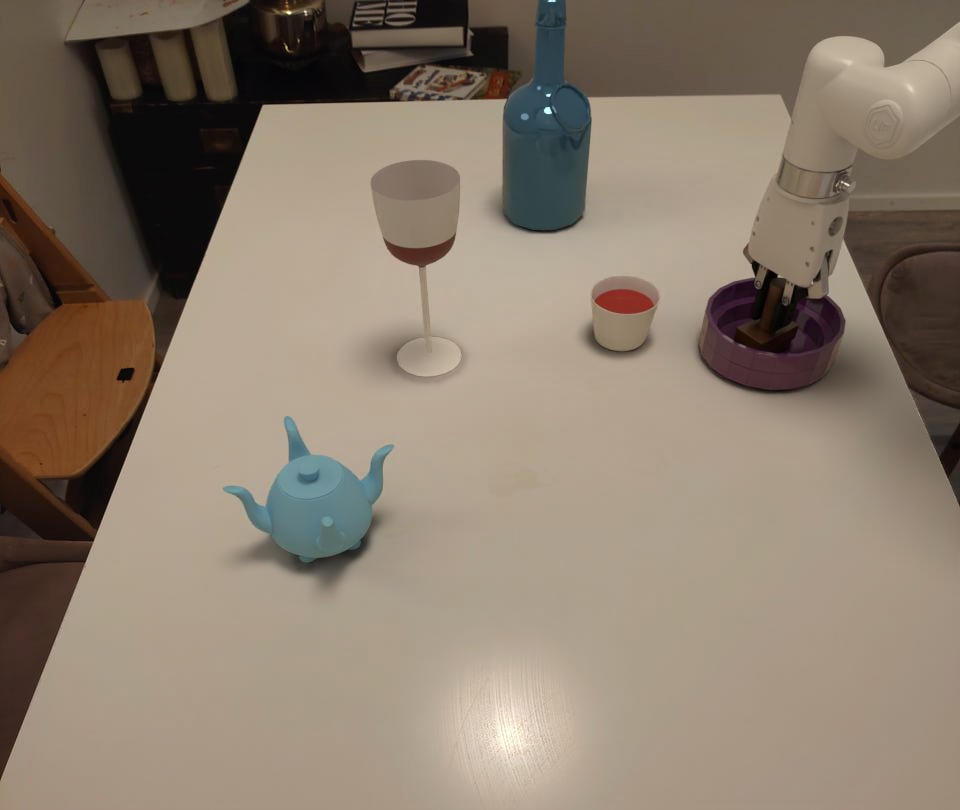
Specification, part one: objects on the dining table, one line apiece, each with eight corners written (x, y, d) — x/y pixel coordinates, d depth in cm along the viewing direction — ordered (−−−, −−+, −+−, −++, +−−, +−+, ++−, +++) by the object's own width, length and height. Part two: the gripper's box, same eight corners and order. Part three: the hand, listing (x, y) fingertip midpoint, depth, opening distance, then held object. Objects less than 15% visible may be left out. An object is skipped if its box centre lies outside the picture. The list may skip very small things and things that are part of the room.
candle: (596, 312, 119) (600, 270, 114) (659, 324, 117) (667, 281, 112) (578, 350, 114) (582, 307, 109) (644, 362, 112) (651, 319, 107)
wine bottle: (484, 212, 135) (480, -17, 111) (543, 183, 141) (552, -42, 116) (544, 245, 129) (555, 10, 105) (604, 213, 134) (627, -17, 110)
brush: (766, 332, 114) (786, 265, 107) (791, 348, 112) (813, 281, 105) (730, 350, 112) (748, 283, 104) (755, 367, 110) (775, 300, 102)
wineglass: (387, 340, 116) (366, 165, 97) (460, 331, 117) (452, 155, 98) (396, 382, 111) (375, 205, 92) (472, 372, 111) (466, 194, 93)
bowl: (761, 299, 120) (772, 263, 115) (859, 360, 111) (874, 322, 107) (671, 344, 114) (678, 307, 110) (766, 411, 106) (778, 374, 101)
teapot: (243, 555, 93) (218, 487, 85) (307, 478, 100) (289, 408, 92) (345, 592, 90) (329, 525, 82) (403, 509, 97) (394, 440, 89)
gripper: (895, 192, 91) (839, 341, 106) (781, 137, 99) (744, 283, 114) (848, 214, 89) (798, 364, 104) (735, 156, 97) (703, 303, 112)
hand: (770, 320), depth 109 cm, fingers closed on brush, 2 cm apart
